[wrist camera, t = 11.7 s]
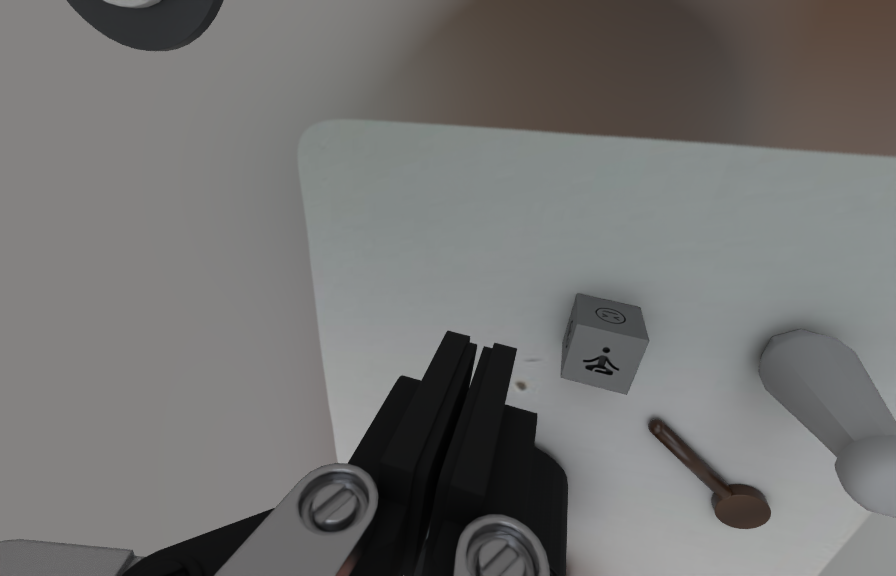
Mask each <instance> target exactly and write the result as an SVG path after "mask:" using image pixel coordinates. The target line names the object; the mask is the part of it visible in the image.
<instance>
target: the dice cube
mask: <svg viewBox="0 0 896 576" xmlns="http://www.w3.org/2000/svg"><path fill="white" fill-rule="evenodd" d="M648 343H649V338H648V334H647V331H646V327H645V323H644V320H643V316H642V312H641V308H640V307H636V306H631V305H627V304H622V303H618V302H613V301H609V300H604V299H600V298H595V297H591V296H586V295H582V294H577V296H576V299H575V303H574V306H573V309H572V313H571V316H570V319H569V323H568V326H567V330H566V333H565V336H564V340H563V343H562V361H561V378H564V379H568V380H572V381H576V382H579V383H583V384H587V385H591V386H595V387H599V388H603V389H606V390H610V391H614V392H618V393H622V394H626V395H627V394H628V391H629V389H630V386H631V384H632V382H633V379H634V377H635V374H636V372H637V369H638V367H639V365H640V362H641V360H642V357H643V355H644V352H645V350H646V348H647V345H648Z"/></svg>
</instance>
